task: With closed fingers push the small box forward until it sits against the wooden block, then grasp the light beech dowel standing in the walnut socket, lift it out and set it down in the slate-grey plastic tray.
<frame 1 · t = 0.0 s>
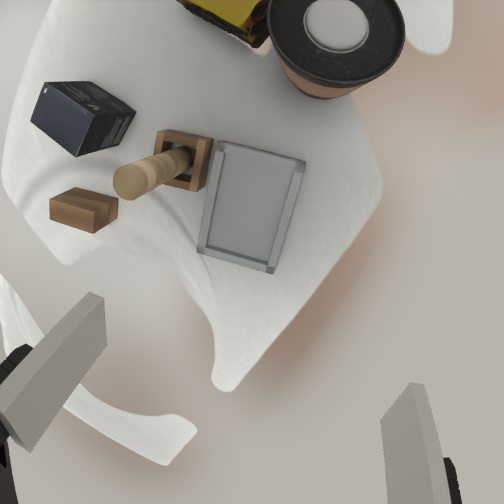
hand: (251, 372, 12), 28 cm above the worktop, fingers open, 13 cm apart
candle: (248, 0, 28), on the worktop
wooden block: (95, 202, 42), on the worktop
tray: (249, 206, 39), on the worktop
dowel: (161, 167, 31), in the socket
socket: (185, 157, 37), on the worktop
travel mug: (321, 69, 31), on the worktop
box: (104, 112, 36), on the worktop
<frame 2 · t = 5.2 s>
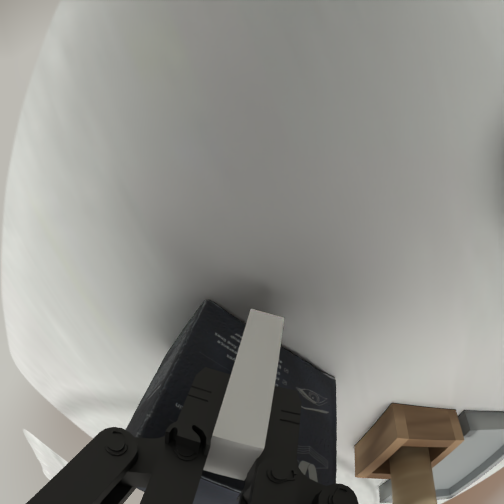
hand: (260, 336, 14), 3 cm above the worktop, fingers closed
tray: (455, 456, 21), on the worktop
socket: (405, 430, 19), on the worktop
box: (251, 363, 19), on the worktop, touching gripper
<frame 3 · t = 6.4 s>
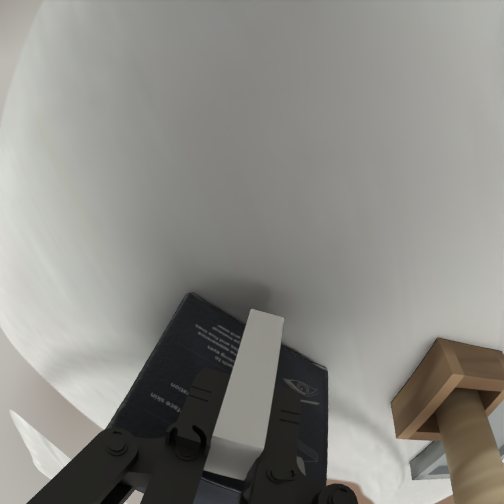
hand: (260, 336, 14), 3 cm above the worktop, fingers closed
tray: (494, 419, 18), on the worktop
dowel: (475, 465, 10), in the socket
socket: (448, 379, 17), on the worktop
box: (240, 357, 19), on the worktop, touching gripper
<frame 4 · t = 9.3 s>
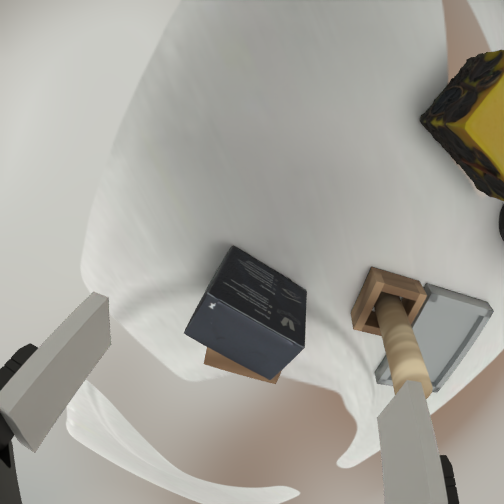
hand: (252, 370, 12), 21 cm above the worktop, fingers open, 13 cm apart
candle: (476, 123, 24), on the worktop
wooden block: (251, 330, 37), on the worktop
tray: (432, 339, 34), on the worktop
dowel: (398, 337, 26), in the socket
socket: (385, 297, 33), on the worktop
box: (258, 284, 35), on the worktop
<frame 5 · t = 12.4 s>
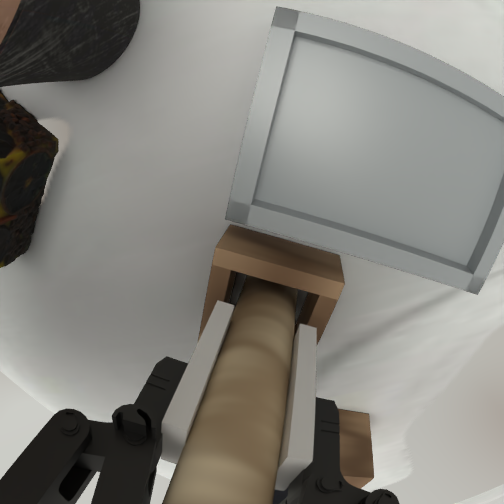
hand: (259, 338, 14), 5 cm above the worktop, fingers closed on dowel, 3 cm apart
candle: (7, 165, 18), on the worktop
wooden block: (331, 436, 23), on the worktop
tray: (395, 153, 14), on the worktop
dowel: (250, 377, 12), in the socket, touching gripper
socket: (271, 287, 18), on the worktop
travel mug: (91, 26, 13), on the worktop
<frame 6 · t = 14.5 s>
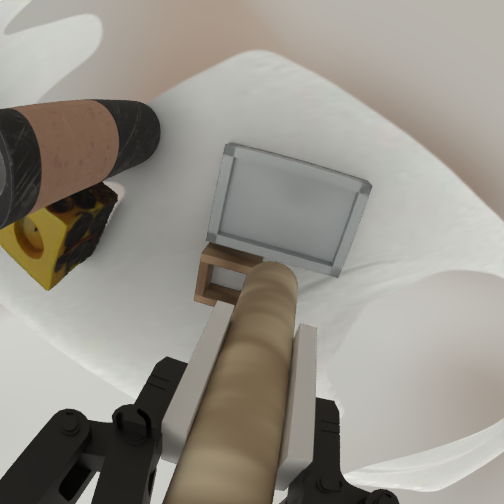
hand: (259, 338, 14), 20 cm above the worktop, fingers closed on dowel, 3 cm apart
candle: (79, 203, 36), on the worktop
tray: (287, 207, 32), on the worktop
dowel: (251, 373, 12), point 22 cm above the worktop, touching gripper
socket: (230, 272, 36), on the worktop
travel mug: (132, 132, 31), on the worktop
when the fingers open (7 cm above the worktop, at t = 17.0 s): dowel stays where it is, resting on tray.
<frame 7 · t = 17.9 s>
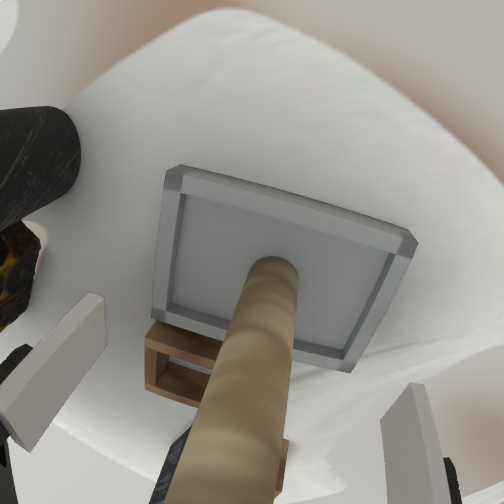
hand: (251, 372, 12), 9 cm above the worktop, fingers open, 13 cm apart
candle: (4, 246, 24), on the worktop
wooden block: (263, 454, 29), on the worktop
tray: (274, 270, 20), on the worktop
dowel: (255, 360, 13), in the tray, point 8 cm above the worktop
socket: (194, 352, 24), on the worktop
travel mug: (48, 152, 19), on the worktop
box: (207, 440, 30), on the worktop
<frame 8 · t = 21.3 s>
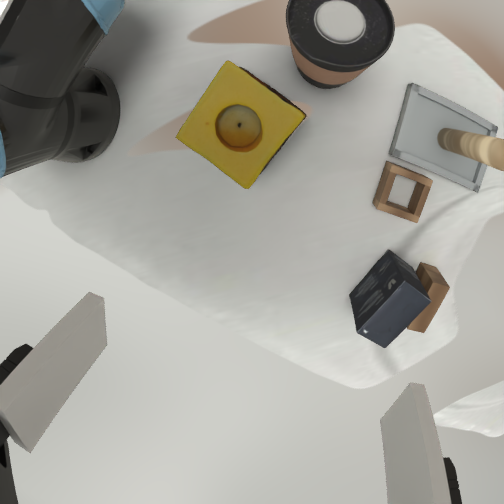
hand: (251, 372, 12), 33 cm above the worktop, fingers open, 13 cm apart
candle: (253, 120, 39), on the worktop
wooden block: (417, 287, 44), on the worktop
tray: (444, 138, 35), on the worktop
dowel: (470, 145, 28), in the tray, point 8 cm above the worktop
socket: (399, 189, 39), on the worktop
travel mug: (325, 62, 34), on the worktop
box: (381, 280, 45), on the worktop
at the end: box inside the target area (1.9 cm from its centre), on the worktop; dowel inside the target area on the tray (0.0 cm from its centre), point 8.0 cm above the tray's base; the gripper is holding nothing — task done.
